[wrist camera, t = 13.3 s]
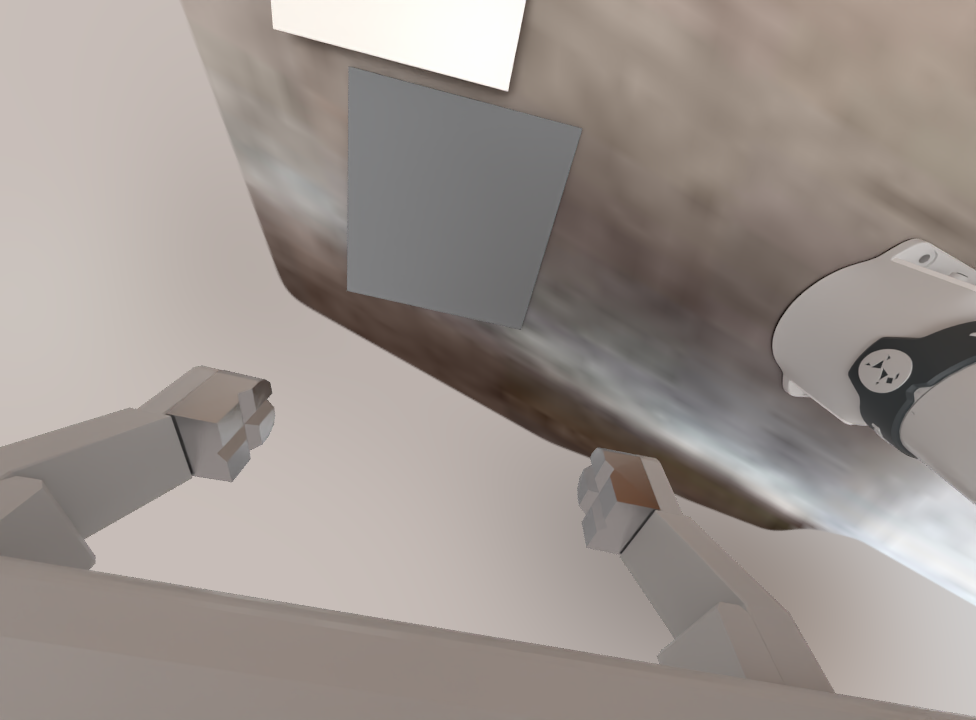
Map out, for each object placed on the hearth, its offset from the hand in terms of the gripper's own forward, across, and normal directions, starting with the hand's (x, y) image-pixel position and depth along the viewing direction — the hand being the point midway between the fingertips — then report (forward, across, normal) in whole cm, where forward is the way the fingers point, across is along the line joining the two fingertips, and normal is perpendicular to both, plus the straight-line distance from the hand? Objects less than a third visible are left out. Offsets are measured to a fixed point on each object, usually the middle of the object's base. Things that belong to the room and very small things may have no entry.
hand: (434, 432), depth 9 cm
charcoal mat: (+31, +4, +2) cm, 31 cm away
